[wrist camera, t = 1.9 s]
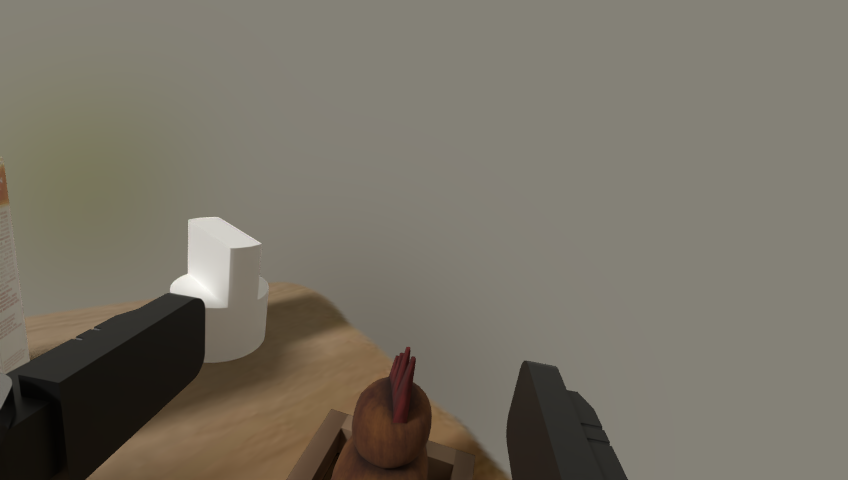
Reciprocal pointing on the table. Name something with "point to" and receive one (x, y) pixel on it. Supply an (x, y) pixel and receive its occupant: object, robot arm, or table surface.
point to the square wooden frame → (445, 464)
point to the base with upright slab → (225, 287)
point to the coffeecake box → (10, 291)
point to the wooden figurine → (388, 429)
